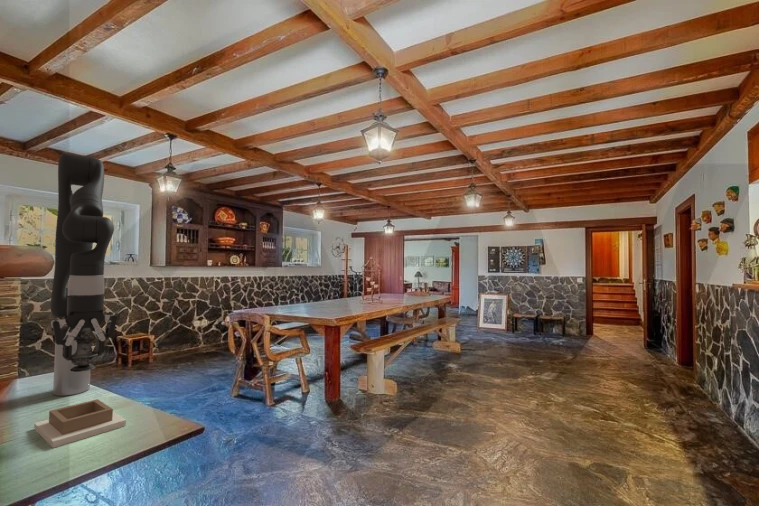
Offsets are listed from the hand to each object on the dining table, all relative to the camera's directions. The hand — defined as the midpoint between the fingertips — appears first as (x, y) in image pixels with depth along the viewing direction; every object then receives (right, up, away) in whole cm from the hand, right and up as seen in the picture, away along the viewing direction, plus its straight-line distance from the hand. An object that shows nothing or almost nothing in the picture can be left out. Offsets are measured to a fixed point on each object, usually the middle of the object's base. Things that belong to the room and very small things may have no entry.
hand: (83, 357), depth 98 cm
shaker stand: (-1, -18, 0) cm, 18 cm away
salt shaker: (0, -3, 0) cm, 3 cm away
